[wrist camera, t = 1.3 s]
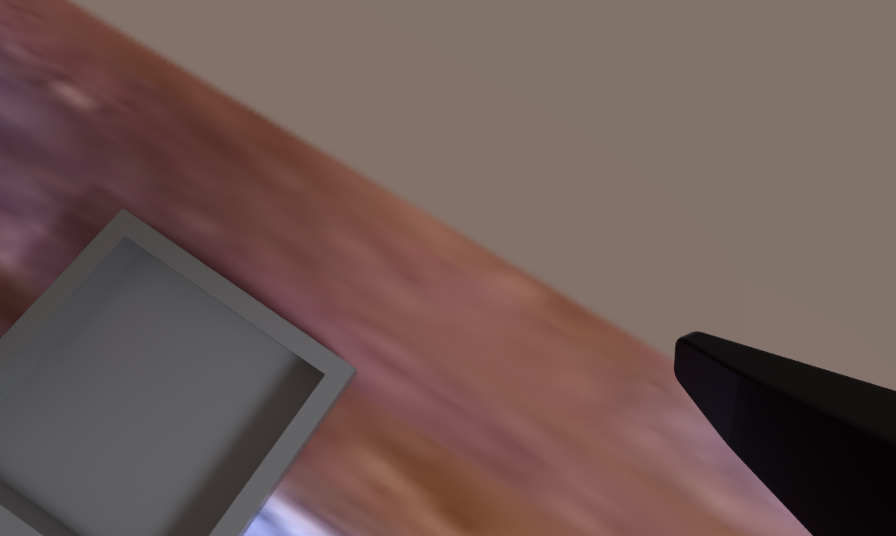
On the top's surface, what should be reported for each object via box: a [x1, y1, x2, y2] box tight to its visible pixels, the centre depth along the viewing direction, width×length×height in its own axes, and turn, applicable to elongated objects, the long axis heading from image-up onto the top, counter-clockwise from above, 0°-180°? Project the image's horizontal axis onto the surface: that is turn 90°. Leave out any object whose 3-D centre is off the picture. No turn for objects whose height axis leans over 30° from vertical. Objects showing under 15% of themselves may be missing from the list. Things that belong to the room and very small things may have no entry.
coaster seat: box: [0, 208, 357, 536], centre depth 21 cm, size 11×11×2 cm
